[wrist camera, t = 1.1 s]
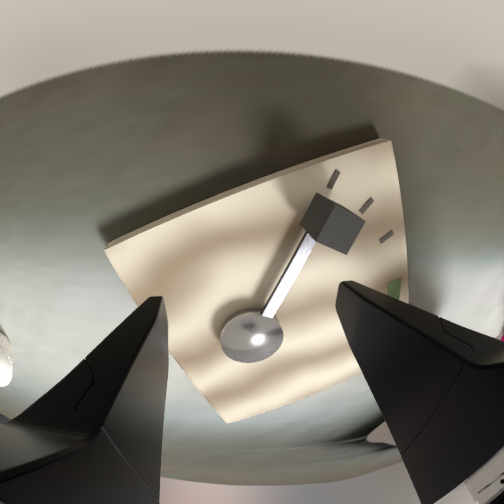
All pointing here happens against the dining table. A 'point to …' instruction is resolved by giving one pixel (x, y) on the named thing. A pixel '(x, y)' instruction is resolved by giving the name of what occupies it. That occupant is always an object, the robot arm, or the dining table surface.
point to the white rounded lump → (5, 361)
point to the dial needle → (288, 282)
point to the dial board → (269, 275)
